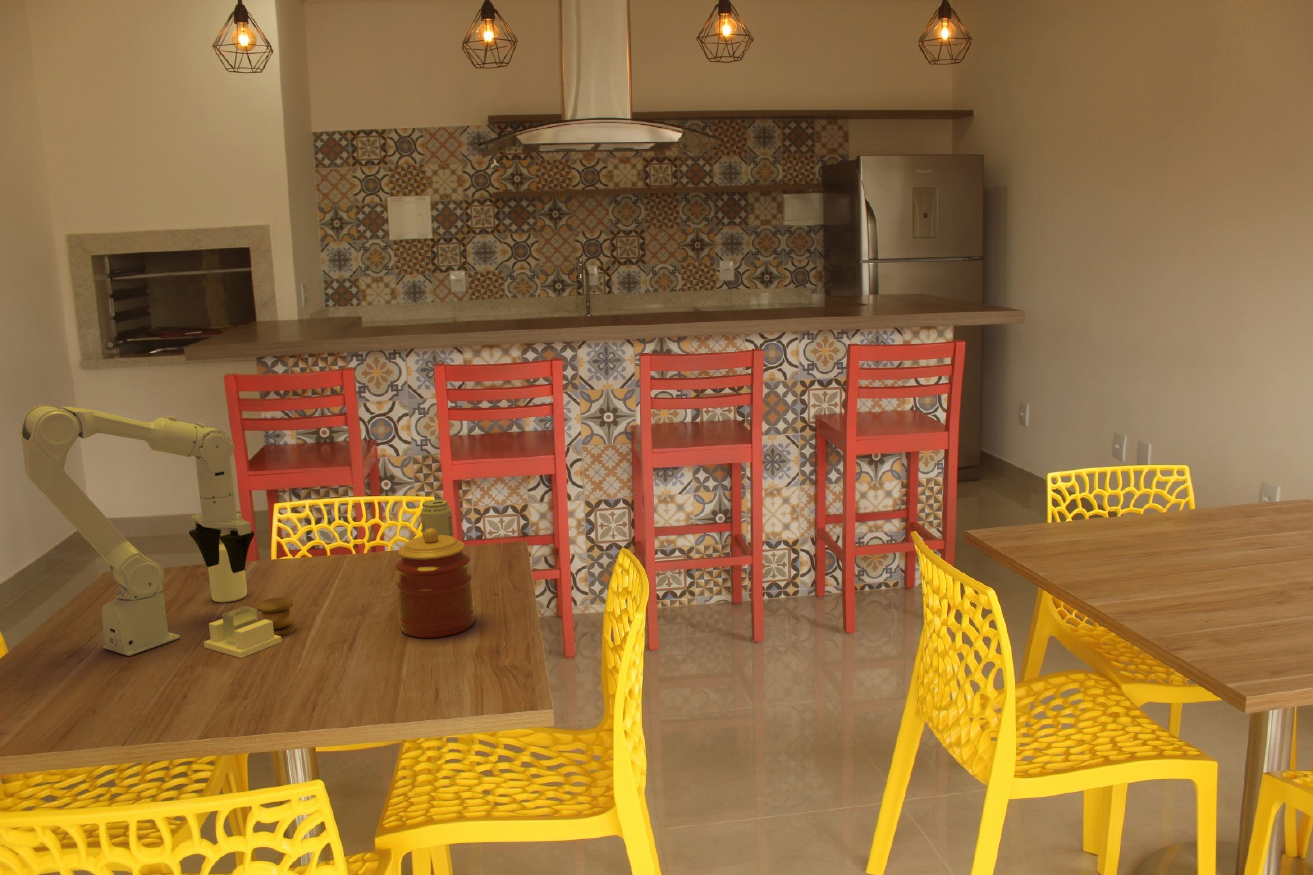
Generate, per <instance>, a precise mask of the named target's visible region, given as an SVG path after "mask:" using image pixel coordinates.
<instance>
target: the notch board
mask: <svg viewBox="0 0 1313 875" xmlns="http://www.w3.org/2000/svg"><path fill="white" fill-rule="evenodd" d="M208 626H209V637H210V639H208V640H205V641H203V645H204V648H205V649H209V650H212V651H216V652H219V653H222V654H225V655H228V656H229V655H230V656H232V657H236V658H239V659H242V658H245V657H247V656H250V655H252V654H255V653H258V652H260V651H262V650H265V649H268V648H270V647H272V646H275V645H278V644H281V643H282V637H281V636H277V635H274V630H273V621H270V620H266V619H264V620H262V619H261V620H258V622H256V623H254V624H251V625H248V626H245V627H243V628H240V629H237V630H234V632H235V641H236V645H234V644H230V643H227V642H225V634H224V626H223V618H220V619H217V620H216V621H213V622H209V623H208Z"/></svg>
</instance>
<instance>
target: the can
mask: <svg viewBox="0 0 1313 875" xmlns="http://www.w3.org/2000/svg"><path fill="white" fill-rule="evenodd" d="M227 534H228V533H227ZM227 534H220V536H224V535H227ZM207 569H208V577H209V580H208V581H209V587H210V594H211V595H210V596H211V600H213V602H214V603H220V604H224V603H225V604H227V603H232V602H237V601H240V600H243V599H244V598H246V596H247V594H248V586H247V577H246V569H245V570H243V571H240V572H237V573H233V572H232V570H231V567H230V562H229V557H228V553H227V551H226V548H225V546H224V544H223V542H222V541H221V539H220V540H219V564H218V565H215V566H211V567H207Z"/></svg>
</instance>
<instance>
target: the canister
mask: <svg viewBox="0 0 1313 875" xmlns="http://www.w3.org/2000/svg"><path fill="white" fill-rule="evenodd" d="M465 548H466V546H465V543H464V542H462V541H461V540H459V539H456V537H454V536H453V537H452V536H447V535H438V532H437V531H436V530H435V529H433V528H429V529H426V530H425V531H424V533H423V532H422V536H418V537H415V538H412V539H410V540H408V541H407V542H406V544H404V545H403V546H401V547H400V548H399V549H398V552H397V553H398V555H399V556H400V558H399V559H397V560H396V561H395V563H394V569H395V570H396V571H397V572H398V573H397V574H398V578H397V580H396V581H395V582H396V583H395V586H396V588H397V598H398V610H399V614H398V620H399V621H398V622H399V625H400V628H401V631H402V633H404V634H405V635H407V636H410V637H415V638H423V639H425V638H426V639H427V638H428V639H431V638H432V639H433V638H434V639H435V638H442V637H443V638H444V637H448V636H452V635H455V634H456V635H457V634H459V633H461V632H464V631H466V630H468V629H469V628H470V627H472V625H473V624H474V618H475V614H476V613H475V607H474V602H473V601H474V600H473V589H472V588H473V587H472V579H473V575H472V573H471V572H470V571H469V564H470V562H471V559H472V558H471V556H470V554H468V553H467V552H465V551H464V549H465Z"/></svg>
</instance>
